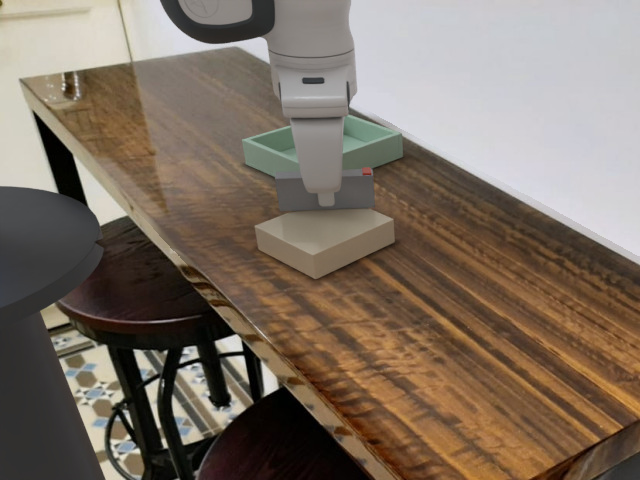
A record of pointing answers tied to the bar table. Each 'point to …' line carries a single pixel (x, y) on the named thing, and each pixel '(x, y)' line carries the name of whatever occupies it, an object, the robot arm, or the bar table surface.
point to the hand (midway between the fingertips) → (326, 197)
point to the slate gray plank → (351, 194)
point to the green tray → (358, 147)
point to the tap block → (324, 238)
